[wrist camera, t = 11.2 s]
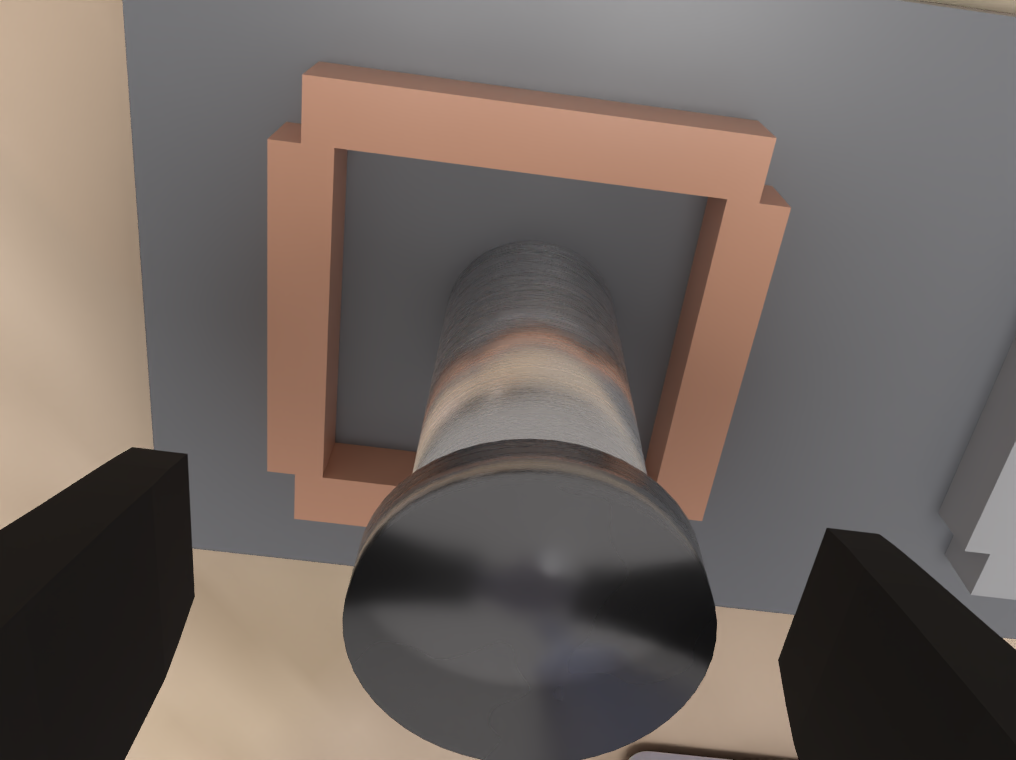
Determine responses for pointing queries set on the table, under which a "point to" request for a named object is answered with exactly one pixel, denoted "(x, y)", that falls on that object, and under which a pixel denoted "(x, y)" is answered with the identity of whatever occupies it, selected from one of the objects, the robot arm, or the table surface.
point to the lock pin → (529, 536)
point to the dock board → (594, 257)
